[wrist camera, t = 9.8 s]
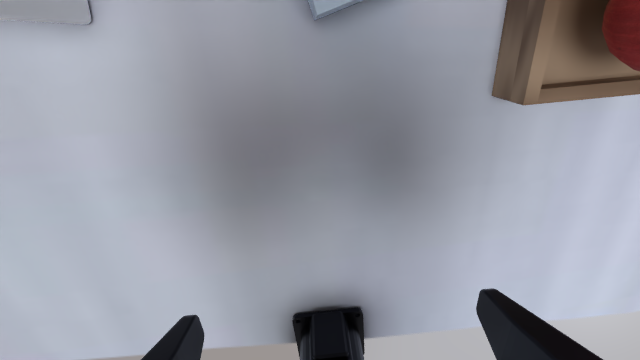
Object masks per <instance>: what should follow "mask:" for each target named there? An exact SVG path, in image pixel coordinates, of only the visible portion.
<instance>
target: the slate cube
mask: <svg viewBox="0 0 640 360" xmlns="http://www.w3.org/2000/svg"><path fill="white" fill-rule="evenodd" d="M361 1H363V0H308V3H309V6H310V9H311V12H312V15H313V18H314V20H317V19H319V18H322V17H324V16H327V15H329V14H331V13H334V12H336V11H339V10H341V9H344V8H346V7H349V6H351V5H353V4H356V3H358V2H361Z"/></svg>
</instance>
